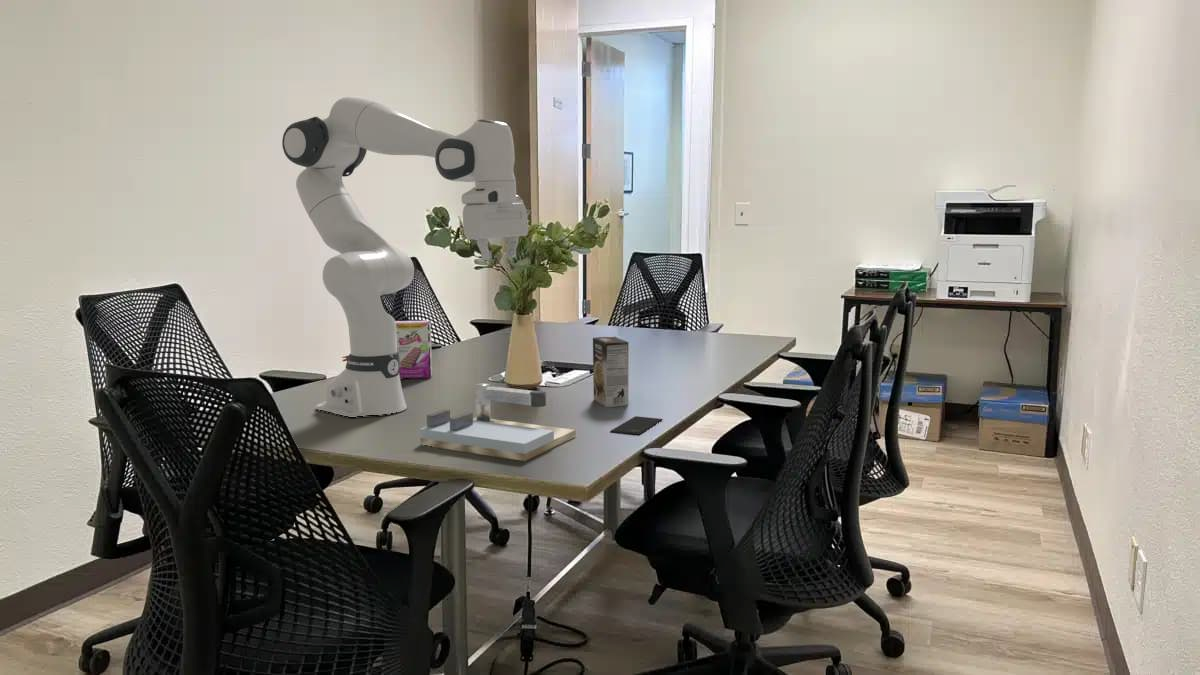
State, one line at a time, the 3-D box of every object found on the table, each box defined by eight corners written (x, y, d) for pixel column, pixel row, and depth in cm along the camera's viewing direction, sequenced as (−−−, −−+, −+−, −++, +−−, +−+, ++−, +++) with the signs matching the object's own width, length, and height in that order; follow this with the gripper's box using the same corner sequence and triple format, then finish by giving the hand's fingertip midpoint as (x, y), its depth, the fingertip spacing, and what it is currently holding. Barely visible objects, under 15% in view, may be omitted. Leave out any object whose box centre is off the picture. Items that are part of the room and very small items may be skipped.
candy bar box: (392, 380, 253) (389, 323, 250) (394, 376, 258) (391, 320, 255) (431, 378, 254) (429, 322, 252) (433, 375, 259) (430, 319, 257)
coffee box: (592, 399, 226) (591, 337, 223) (615, 397, 228) (615, 335, 226) (605, 407, 217) (604, 342, 215) (629, 405, 220) (629, 341, 217)
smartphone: (633, 418, 208) (609, 434, 194) (633, 415, 208) (609, 430, 194) (663, 421, 205) (640, 437, 191) (663, 418, 205) (640, 433, 191)
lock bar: (473, 421, 198) (471, 385, 196) (482, 418, 201) (480, 382, 199) (541, 430, 189) (540, 393, 188) (549, 426, 192) (548, 390, 191)
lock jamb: (420, 445, 186) (419, 417, 185) (477, 423, 203) (476, 397, 202) (525, 461, 174) (524, 431, 173) (575, 436, 191) (575, 409, 190)
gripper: (510, 195, 204) (513, 255, 206) (456, 195, 186) (459, 261, 188) (533, 194, 201) (536, 255, 203) (480, 194, 183) (484, 261, 185)
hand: (499, 258), depth 196 cm, fingers open, 8 cm apart
